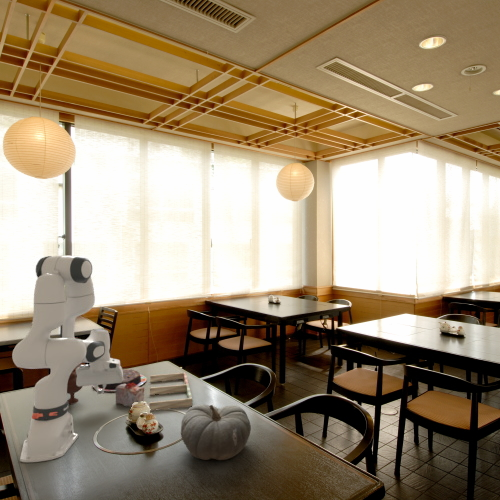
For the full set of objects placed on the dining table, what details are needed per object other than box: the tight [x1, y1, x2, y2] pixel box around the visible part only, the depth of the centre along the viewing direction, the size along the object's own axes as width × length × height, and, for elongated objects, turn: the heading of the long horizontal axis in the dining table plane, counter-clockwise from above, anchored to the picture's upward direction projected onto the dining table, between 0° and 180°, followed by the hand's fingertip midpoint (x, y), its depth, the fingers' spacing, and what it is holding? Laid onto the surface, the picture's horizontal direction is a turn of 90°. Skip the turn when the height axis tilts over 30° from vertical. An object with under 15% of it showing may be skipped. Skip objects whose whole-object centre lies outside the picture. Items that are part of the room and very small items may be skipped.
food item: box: [115, 383, 145, 407], centre depth 183 cm, size 14×8×10 cm, turn 64°
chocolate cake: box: [92, 368, 147, 393], centre depth 212 cm, size 28×28×7 cm
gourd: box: [180, 403, 252, 461], centre depth 141 cm, size 25×25×17 cm
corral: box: [148, 371, 193, 411], centre depth 197 cm, size 40×19×4 cm, turn 14°
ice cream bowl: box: [67, 370, 84, 405], centre depth 187 cm, size 11×11×15 cm
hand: (100, 393), depth 180 cm, fingers closed
